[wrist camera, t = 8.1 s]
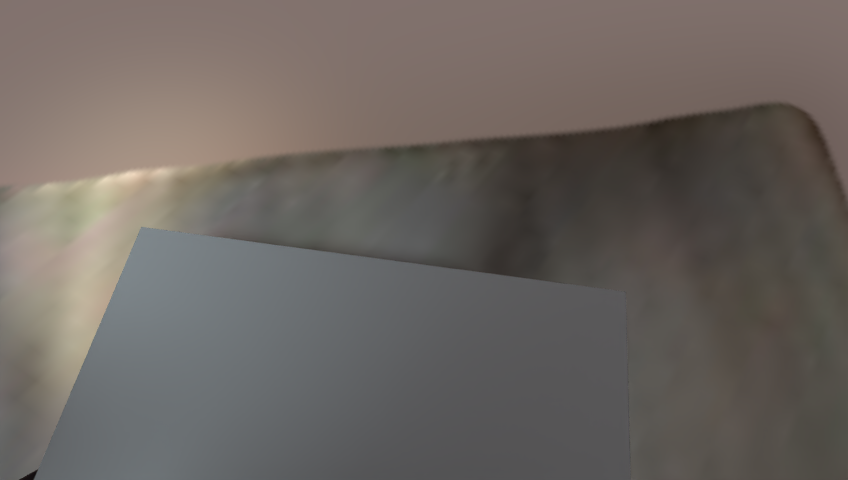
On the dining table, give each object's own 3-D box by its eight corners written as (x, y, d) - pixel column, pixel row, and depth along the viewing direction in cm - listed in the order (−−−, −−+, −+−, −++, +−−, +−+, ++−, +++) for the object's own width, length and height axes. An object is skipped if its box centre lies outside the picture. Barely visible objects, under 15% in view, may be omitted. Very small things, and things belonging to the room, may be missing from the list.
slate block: (466, 491, 13) (649, 1216, 2) (348, 470, 13) (-166, 949, 2) (478, 365, 14) (626, 290, 3) (370, 348, 15) (141, 227, 3)
